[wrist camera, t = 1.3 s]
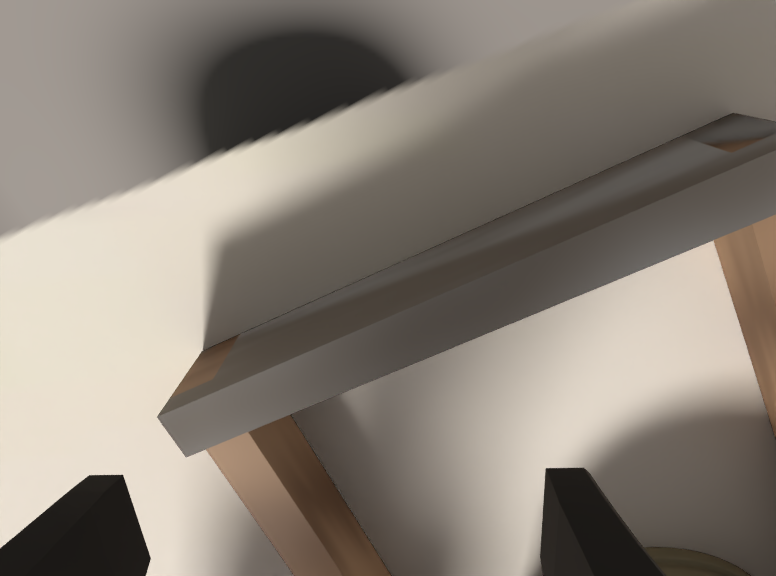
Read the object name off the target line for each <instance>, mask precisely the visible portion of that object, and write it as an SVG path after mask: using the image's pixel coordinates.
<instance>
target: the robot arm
mask: <svg viewBox="0 0 776 576" xmlns="http://www.w3.org/2000/svg"><path fill="white" fill-rule="evenodd" d="M540 558H541V565H542V571H543V576H666V575H665V573H664V572H663V571H662V570H661V568H660V567H659V566H658V565H657V564H656V562H655V561H654V560H653V559H652V557H651V556H650V555H649V554H648V553H647V551H646V550H645V549H644V547H643V546H642V545H641V544H640V542H639V541H638V540H637V538H636V537H635V536H634V534H633V533H632V532H631V530H630V529H629V528H628V526H627V525H626V524H625V523H624V521H623V520H622V519H621V517H620V516H619V514H618V513H617V512H616V510H615V509H614V508H613V506H612V505H611V503H610V502H609V501H608V499H607V498H606V496H605V495H604V493H603V492H602V491H601V489H600V488H599V486H598V485H597V483H596V482H595V480H594V479H593V477H592V476H591V474H590V473H589V472H588V471H587V470H586V469H584V468H546V473H545V489H544V505H543V521H542V537H541V553H540ZM150 559H151V558H150V555H149V552H148V549H147V546H146V543H145V540H144V537H143V534H142V531H141V528H140V525H139V522H138V519H137V516H136V513H135V510H134V507H133V504H132V501H131V498H130V495H129V492H128V489H127V486H126V483H125V480H124V477H123V475H89V476H88V477H87V478H85V479H84V480H83V481H81V482H80V483H79V484H77V485H76V486H75V487H74V488H72V489H71V490H70V491H69V492H67V493H66V494H65V495H64V496H63V497H61V498H60V499H59V500H58V501H57V502H55V503H54V504H53V505H52V506H51V507H49V508H48V509H47V510H46V511H45V512H43V513H42V514H41V515H40V516H39V517H37V518H36V519H35V520H34V521H33V522H31V523H30V524H29V525H28V526H27V527H26V528H24V529H23V530H22V531H21V532H20V533H18V534H17V535H16V536H15V537H14V538H12V539H11V540H10V541H9V542H7V543H6V544H5V545H4V546H3V547H1V548H0V576H146V573H147V569H148V566H149V563H150Z"/></svg>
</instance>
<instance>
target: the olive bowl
mask: <svg viewBox="0 0 776 576" xmlns="http://www.w3.org/2000/svg"><path fill="white" fill-rule="evenodd" d="M644 549H645V550H646V551H647V553H648V554H649V555H650V556H651V557H652V559H653V560H654V561H655V562H656V564H657V565H658V566H659V567H660V568H661V570H662V571H663V572H664V573H665V575H666V576H751V575H750V574H748V573H747V572H745V571H744V570H742V569H741V568H739V567H737V566H735V565H733V564H731V563H729V562H727V561H725V560H722V559H720V558H717V557H715V556H711V555H708V554H705V553H701V552H696V551H692V550H687V549H678V548H666V547H645V548H644Z"/></svg>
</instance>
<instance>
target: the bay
mask: <svg viewBox="0 0 776 576" xmlns="http://www.w3.org/2000/svg"><path fill="white" fill-rule="evenodd" d="M713 240H714V243H715V246H716V249H717V253H718V256H719V259H720V262H721V265H722V269H723V272H724V275H725V278H726V281H727V285H728V288H729V291H730V294H731V297H732V301H733V304H734V307H735V310H736V313H737V317H738V320H739V323H740V326H741V329H742V333H743V336H744V339H745V342H746V345H747V349H748V352H749V355H750V358H751V361H752V365H753V368H754V371H755V374H756V377H757V381H758V384H759V387H760V390H761V393H762V397H763V400H764V403H765V406H766V409H767V413H768V416H769V419H770V422H771V425H772V429H773V432H774V435H775V438H776V122H775V121H770V120H765V119H760V118H755V117H750V116H745V115H740V114H735V113H732V114H730V115H728V116H726V117H723V118H721V119H719V120H717V121H714V122H712V123H710V124H708V125H705V126H703V127H701V128H699V129H697V130H694V131H692V132H690V133H688V134H685V135H683V136H681V137H679V138H676V139H674V140H672V141H670V142H668V143H665V144H663V145H661V146H659V147H656V148H654V149H652V150H650V151H647V152H645V153H643V154H641V155H639V156H636V157H634V158H632V159H630V160H627V161H625V162H623V163H621V164H618V165H616V166H614V167H612V168H610V169H607V170H605V171H603V172H601V173H598V174H596V175H594V176H592V177H589V178H587V179H585V180H583V181H581V182H578V183H576V184H574V185H572V186H569V187H567V188H565V189H563V190H560V191H558V192H556V193H554V194H552V195H549V196H547V197H545V198H543V199H540V200H538V201H536V202H534V203H531V204H529V205H527V206H525V207H523V208H520V209H518V210H516V211H514V212H511V213H509V214H507V215H505V216H502V217H500V218H498V219H496V220H494V221H491V222H489V223H487V224H485V225H482V226H480V227H478V228H476V229H474V230H471V231H469V232H467V233H465V234H462V235H460V236H458V237H456V238H453V239H451V240H449V241H447V242H445V243H442V244H440V245H438V246H436V247H433V248H431V249H429V250H427V251H424V252H422V253H420V254H418V255H416V256H413V257H411V258H409V259H407V260H404V261H402V262H400V263H398V264H395V265H393V266H391V267H389V268H387V269H384V270H382V271H380V272H378V273H375V274H373V275H371V276H369V277H366V278H364V279H362V280H360V281H358V282H355V283H353V284H351V285H349V286H346V287H344V288H342V289H340V290H337V291H335V292H333V293H331V294H329V295H326V296H324V297H322V298H320V299H317V300H315V301H313V302H311V303H308V304H306V305H304V306H302V307H300V308H297V309H295V310H293V311H291V312H288V313H286V314H284V315H282V316H279V317H277V318H275V319H273V320H271V321H268V322H266V323H264V324H262V325H259V326H257V327H255V328H253V329H251V330H248V331H246V332H244V333H242V334H239V335H237V336H235V337H233V338H230V339H228V340H226V341H224V342H222V343H219V344H217V345H215V346H213V347H210V348H208V349H206V350H204V351H202V352H201V354H200V355H199V357H198V358H197V359H196V361H195V362H194V364H193V365H192V367H191V368H190V370H189V371H188V373H187V374H186V375H185V377H184V378H183V380H182V381H181V383H180V384H179V386H178V387H177V389H176V390H175V392H174V393H173V394H172V396H171V397H170V399H169V400H168V402H167V403H166V405H165V406H164V408H163V409H162V410H161V412H160V413H159V415H158V416H157V418H158V419H159V420H160V422H161V423H162V425H163V426H164V427H165V429H166V430H167V432H168V433H169V434H170V436H171V437H172V439H173V440H174V441H175V443H176V444H177V446H178V447H179V448H180V450H181V451H182V453H183V454H184V455H185V457H189V456H191V455H193V454H196V453H198V452H201V451H203V450H205V449H206V450H207V452H208V453H209V454H210V456H211V457H212V459H213V460H214V462H215V463H216V464H217V466H218V467H219V469H220V470H221V472H222V473H223V474H224V476H225V477H226V479H227V480H228V482H229V483H230V484H231V486H232V487H233V489H234V490H235V492H236V493H237V494H238V496H239V497H240V499H241V500H242V502H243V503H244V504H245V506H246V507H247V509H248V510H249V512H250V513H251V515H252V516H253V517H254V519H255V520H256V522H257V523H258V525H259V526H260V527H261V529H262V530H263V532H264V533H265V535H266V536H267V537H268V539H269V540H270V542H271V543H272V545H273V546H274V547H275V549H276V550H277V552H278V553H279V555H280V556H281V557H282V559H283V560H284V562H285V563H286V565H287V566H288V567H289V569H290V570H291V572H292V573H293V575H294V576H391V574H390V573H389V571H388V570H387V568H386V567H385V565H384V563H383V562H382V560H381V559H380V557H379V555H378V554H377V552H376V551H375V549H374V547H373V546H372V544H371V543H370V541H369V539H368V538H367V536H366V535H365V533H364V531H363V530H362V528H361V527H360V525H359V524H358V522H357V520H356V519H355V517H354V516H353V514H352V512H351V511H350V509H349V508H348V506H347V504H346V503H345V501H344V500H343V498H342V496H341V495H340V493H339V492H338V490H337V488H336V487H335V485H334V484H333V482H332V480H331V479H330V477H329V476H328V474H327V473H326V471H325V469H324V468H323V466H322V465H321V463H320V461H319V460H318V458H317V457H316V455H315V453H314V452H313V450H312V449H311V447H310V445H309V444H308V442H307V441H306V439H305V437H304V436H303V434H302V433H301V431H300V430H299V428H298V426H297V425H296V423H295V422H294V420H293V418H292V417H291V415H290V414H293V413H295V412H298V411H300V410H303V409H305V408H307V407H310V406H312V405H315V404H317V403H320V402H322V401H324V400H327V399H329V398H332V397H334V396H337V395H339V394H341V393H344V392H346V391H349V390H351V389H354V388H356V387H358V386H361V385H363V384H366V383H368V382H371V381H373V380H375V379H378V378H380V377H383V376H385V375H388V374H390V373H392V372H395V371H397V370H400V369H402V368H405V367H407V366H409V365H412V364H414V363H417V362H419V361H422V360H424V359H426V358H429V357H431V356H434V355H436V354H438V353H441V352H443V351H446V350H448V349H451V348H453V347H455V346H458V345H460V344H463V343H465V342H468V341H470V340H472V339H475V338H477V337H480V336H482V335H485V334H487V333H489V332H492V331H494V330H497V329H499V328H502V327H504V326H506V325H509V324H511V323H514V322H516V321H519V320H521V319H523V318H526V317H528V316H531V315H533V314H536V313H538V312H540V311H543V310H545V309H548V308H550V307H553V306H555V305H557V304H560V303H562V302H565V301H567V300H570V299H572V298H574V297H577V296H579V295H582V294H584V293H587V292H589V291H591V290H594V289H596V288H599V287H601V286H604V285H606V284H608V283H611V282H613V281H616V280H618V279H621V278H623V277H625V276H628V275H630V274H633V273H635V272H638V271H640V270H642V269H645V268H647V267H650V266H652V265H654V264H657V263H659V262H662V261H664V260H667V259H669V258H671V257H674V256H676V255H679V254H681V253H684V252H686V251H688V250H691V249H693V248H696V247H698V246H701V245H703V244H705V243H708V242H710V241H713Z"/></svg>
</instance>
